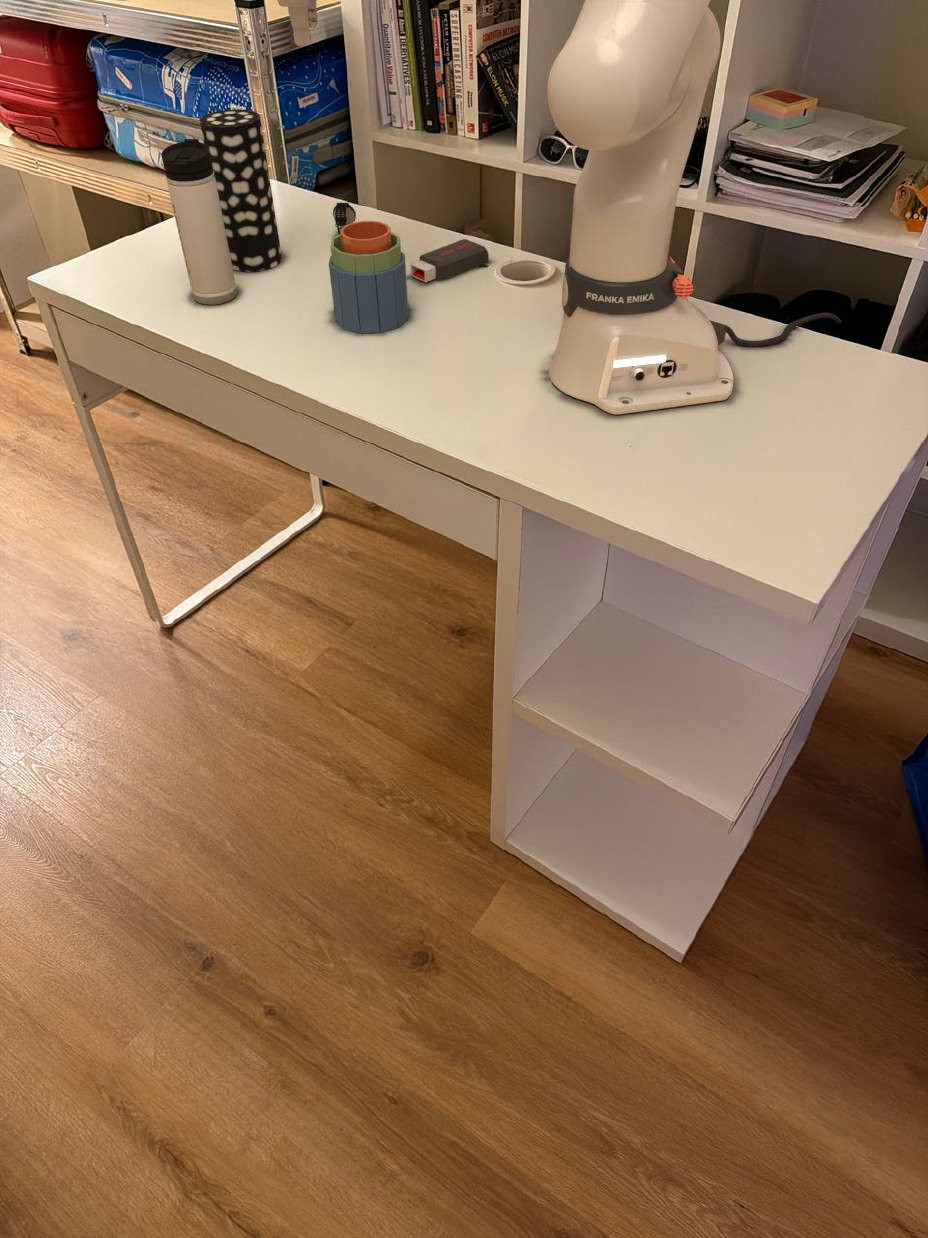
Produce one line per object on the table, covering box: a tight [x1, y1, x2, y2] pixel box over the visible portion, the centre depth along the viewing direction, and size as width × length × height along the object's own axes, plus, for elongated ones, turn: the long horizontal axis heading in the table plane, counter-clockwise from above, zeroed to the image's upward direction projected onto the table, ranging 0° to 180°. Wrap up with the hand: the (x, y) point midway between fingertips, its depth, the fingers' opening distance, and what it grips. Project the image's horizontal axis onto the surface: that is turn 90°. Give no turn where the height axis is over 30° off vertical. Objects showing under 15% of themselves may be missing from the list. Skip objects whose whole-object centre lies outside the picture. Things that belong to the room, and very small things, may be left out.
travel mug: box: [160, 138, 238, 306], centre depth 124 cm, size 6×7×20 cm
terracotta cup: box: [340, 220, 392, 255], centre depth 121 cm, size 6×6×10 cm
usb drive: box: [410, 238, 490, 283], centre depth 136 cm, size 5×12×3 cm, turn 133°
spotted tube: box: [199, 108, 283, 273], centre depth 133 cm, size 8×8×20 cm
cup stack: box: [328, 231, 409, 334], centre depth 122 cm, size 10×10×10 cm
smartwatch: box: [332, 202, 357, 235], centre depth 145 cm, size 4×5×5 cm
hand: (307, 35), depth 113 cm, fingers open, 8 cm apart
